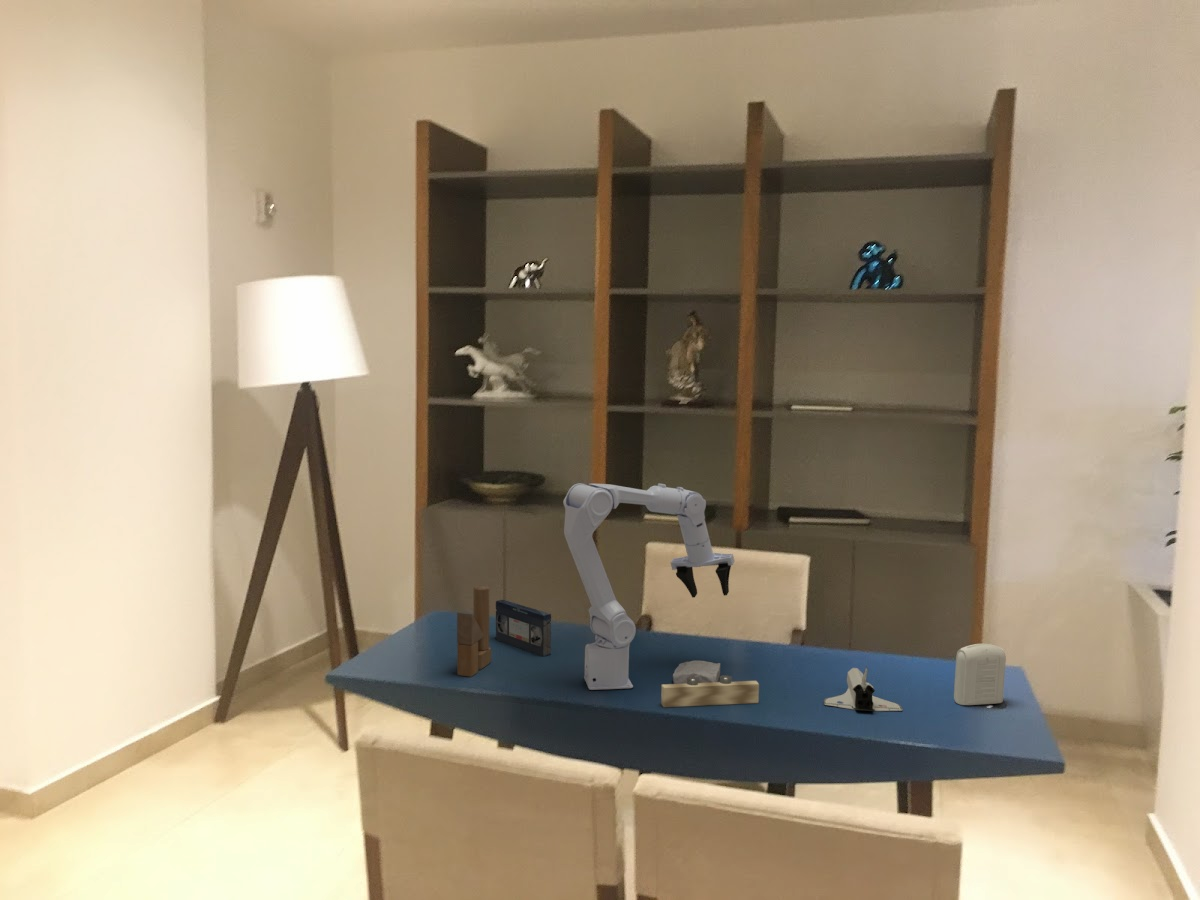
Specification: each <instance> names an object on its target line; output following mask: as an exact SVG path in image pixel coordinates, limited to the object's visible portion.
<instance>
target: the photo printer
mask: <svg viewBox="0 0 1200 900" xmlns="http://www.w3.org/2000/svg"><path fill="white" fill-rule="evenodd" d="M1006 656H1007V655H1006V652H1005V650H1004V649H1003V648H1002V647H1000V646H998V645H995V644H990V643H975V644H970V645H966V646H963V647H961V648H958V650H957V653H956V657H955V670H954V673H955V674H954V685H953V686H954V687H953V699H954V702H955V703H956V704H958V705H959V706H975V705H976V706H977V705H979V706H980V705H993V704H1002V703H1003V700H1004V690H1005V678H1006V677H1005V676H1006V663H1007V662H1006V661H1007V659H1006Z"/></svg>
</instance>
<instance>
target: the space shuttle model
mask: <svg viewBox="0 0 1200 900" xmlns="http://www.w3.org/2000/svg"><path fill="white" fill-rule="evenodd" d="M868 670H869V669H868V667H867V666H865V668H864V673H863V672H862V671H861V670H860V669H859V668H857V667H852V668H851V669H850V670H848V671H847V675H846V683H847V687H848V688H847V690H846V692H844V693H843V694H838V695H835V696H831V697H825V698H824V700H823V704H824V705H825V706H830V707H836V708H842V709H848V710H853V711H865V712H867V711H868V712H898V711H899V712H901V711H903V708H902V706H901V705H900V704H899V703H896V702H893V701H890V700H886V699H883V698H880V697H878V696H874V695H873V694H874V693H875V691H876V690H875V688H874V686H873V685H872V684H871V683H870V682H867V678H868V677H867V676H868Z"/></svg>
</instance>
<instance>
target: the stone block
mask: <svg viewBox="0 0 1200 900" xmlns="http://www.w3.org/2000/svg"><path fill="white" fill-rule="evenodd" d="M673 672H674V673H673V674H672V679H673V684H687V677H697V678H698V679H699V683H713V682H719V681H720V676H721V663H720V662H718V663H715V662H712V661H711V662H710V661H706V660H696V659H695V660H691V661H685V662H682V663H679V664H678V666H677V667H676V668H675V669H674V671H673Z"/></svg>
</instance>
